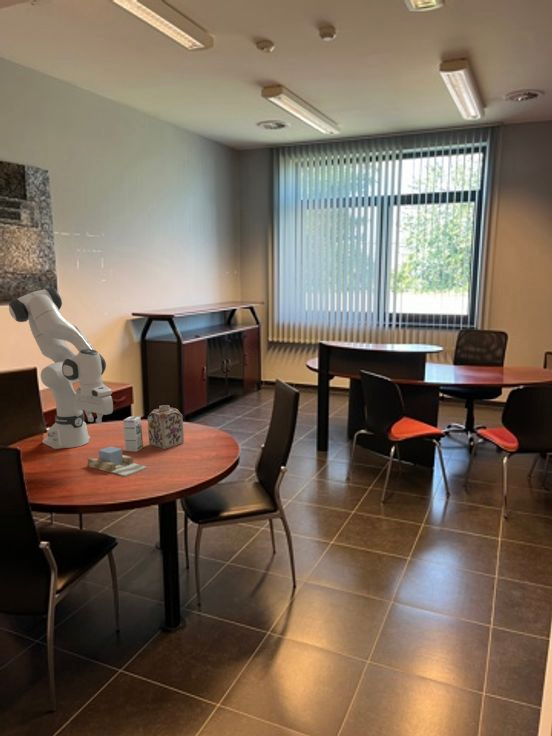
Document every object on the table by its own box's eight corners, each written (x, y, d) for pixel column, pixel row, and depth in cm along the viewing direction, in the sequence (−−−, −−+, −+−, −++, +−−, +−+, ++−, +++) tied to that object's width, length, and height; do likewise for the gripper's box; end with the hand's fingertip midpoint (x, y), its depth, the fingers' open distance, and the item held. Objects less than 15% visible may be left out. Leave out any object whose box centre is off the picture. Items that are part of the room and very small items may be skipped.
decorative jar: (164, 449, 236) (161, 410, 233) (148, 444, 244) (145, 406, 241) (185, 443, 245) (183, 405, 242) (169, 438, 253) (167, 401, 250)
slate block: (99, 464, 217) (98, 450, 216) (111, 460, 222) (110, 446, 221) (110, 467, 214) (109, 453, 212) (122, 463, 218) (121, 449, 217)
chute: (87, 465, 218) (87, 458, 217) (109, 458, 227) (109, 451, 226) (125, 476, 205) (124, 469, 205) (147, 468, 214) (146, 460, 214)
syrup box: (137, 451, 235) (135, 419, 232) (125, 451, 236) (122, 419, 233) (143, 447, 240) (141, 416, 238) (131, 447, 241) (128, 416, 239)
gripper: (69, 388, 221) (72, 420, 223) (101, 393, 209) (104, 427, 212) (82, 385, 226) (85, 417, 228) (114, 390, 214) (117, 423, 217)
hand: (94, 422), depth 220 cm, fingers open, 4 cm apart
